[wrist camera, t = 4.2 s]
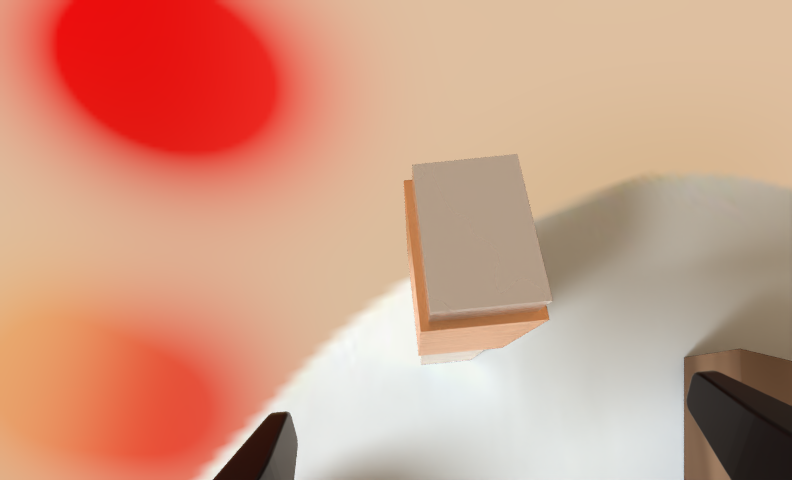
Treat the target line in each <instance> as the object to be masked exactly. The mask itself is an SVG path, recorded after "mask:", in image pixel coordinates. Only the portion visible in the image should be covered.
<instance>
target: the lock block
mask: <svg viewBox="0 0 792 480" xmlns="http://www.w3.org/2000/svg"><path fill="white" fill-rule="evenodd" d="M708 370H715V371H718V372H721V373H723V374H725V375H727V376H729V377H731V378H733V379H736V380H738V381H740V382H742V383H744V384H746V385H748V386H751V387H753V388H755V389H757V390H759V391H761V392H763V393H765V394H768V395H770V396H772V397H774V398H776V399H778V400H780V401H783V402H785V403H787V404H789V405H791V406H792V361H789V360H785V359H781V358H777V357H772V356H768V355H764V354H760V353H756V352H751V351H747V350H743V349H735V350H729V351H723V352H716V353H710V354H704V355H697V356H691V357H685V358H684V480H731V479H730V478H729V476H728V474H727V473H726V471H725V470H724V468H723V467H722V465H721V463H720V462H719V460H718V458H717V457H716V455H715V453H714V452H713V450H712V448H711V447H710V445H709V443H708V442H707V440H706V438H705V437H704V435H703V433H702V432H701V430H700V429H699V427H698V425H697V424H696V422H695V420H694V419H693V417H692V415H691V414H690V412H689V410H688V407H687V404H686V397H687V393H688V389H689V385H690V381H691V378H692V375H693V374H694V373H695V372H698V371H708Z"/></svg>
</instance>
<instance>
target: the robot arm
mask: <svg viewBox="0 0 792 480" xmlns="http://www.w3.org/2000/svg"><path fill="white" fill-rule="evenodd" d="M686 404H687V407H688V410H689V412H690V414H691V415H692V417H693V419H694V420H695V422H696V424H697V425H698V427H699V429H700V430H701V432H702V433H703V435H704V437H705V438H706V440H707V442H708V443H709V445H710V447H711V448H712V450H713V452H714V453H715V455H716V457H717V458H718V460H719V462H720V463H721V465H722V467H723V468H724V470H725V471H726V473H727V474H728V476H729V478H730V479H731V480H792V406H791V405H789V404H787V403H785V402H783V401H780V400H778V399H776V398H774V397H772V396H770V395H768V394H765V393H763V392H761V391H759V390H757V389H755V388H753V387H751V386H748V385H746V384H744V383H742V382H740V381H738V380H736V379H733V378H731V377H729V376H727V375H725V374H723V373H721V372H718V371H715V370H708V371H698V372H695V373H694V374H693V375H692V378H691V381H690V385H689V389H688V393H687V397H686ZM297 446H298V443H297V436H296V432H295V428H294V424H293V421H292V417H291V415H290V413H289V412H276V413H271V414H270V415H269V416H268V417H267V418H266V419H265V420H264V421H263V422H262V424H261V425H260V426H259V427H258V428H257V429H256V430H255V432H254V433H253V434H252V435H251V436H250V437H249V439H248V440H247V441H246V442H245V443H244V444H243V445H242V447H241V448H240V449H239V450H238V451H237V452H236V454H235V455H234V456H233V457H232V458H231V459H230V461H229V462H228V463H227V464H226V465H225V466H224V467H223V469H222V470H221V471H220V472H219V473H218V474H217V476H216V477H215V478H214V479H213V480H294V474H295V465H296V457H297Z"/></svg>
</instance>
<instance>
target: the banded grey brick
mask: <svg viewBox="0 0 792 480" xmlns="http://www.w3.org/2000/svg"><path fill="white" fill-rule="evenodd" d="M404 193H405V213H406V232H407V251H408V260H409V270H410V279H411V288H412V298H413V307H414V316H415V326H416V335H417V344H418V354H419V356H420V358H421V365H426V364H436V363H447V362H457V361H467V360H471V359H473V358H474V357H475V356H477V355H478V354H480V353H481V352H482V351H484V350H485V349H494V348H503V347H504V346H506V345H508V344H509V343H511V342H513V341H514V340H516V339H518V338H519V337H521V336H523V335H524V334H526V333H528V332H529V331H531V330H533V329H534V328H536V327H538V326H539V325H541V324H543V323H544V322H546V321H548V320H549V316H548V311H547V307H546V305H547V304H549V303H550V302H552V301H553V299H552V295H551V291H550V287H549V283H548V278H547V274H546V270H545V266H544V262H543V258H542V254H541V250H540V246H539V241H538V237H537V233H536V229H535V225H534V221H533V217H532V213H531V209H530V205H529V201H528V197H527V193H526V189H525V184H524V180H523V176H522V172H521V168H520V164H519V159H518V155H517V154H514V155H504V156H495V157H484V158H474V159H464V160H454V161H445V162H435V163H425V164H416V165H412V180H405V181H404Z"/></svg>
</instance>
